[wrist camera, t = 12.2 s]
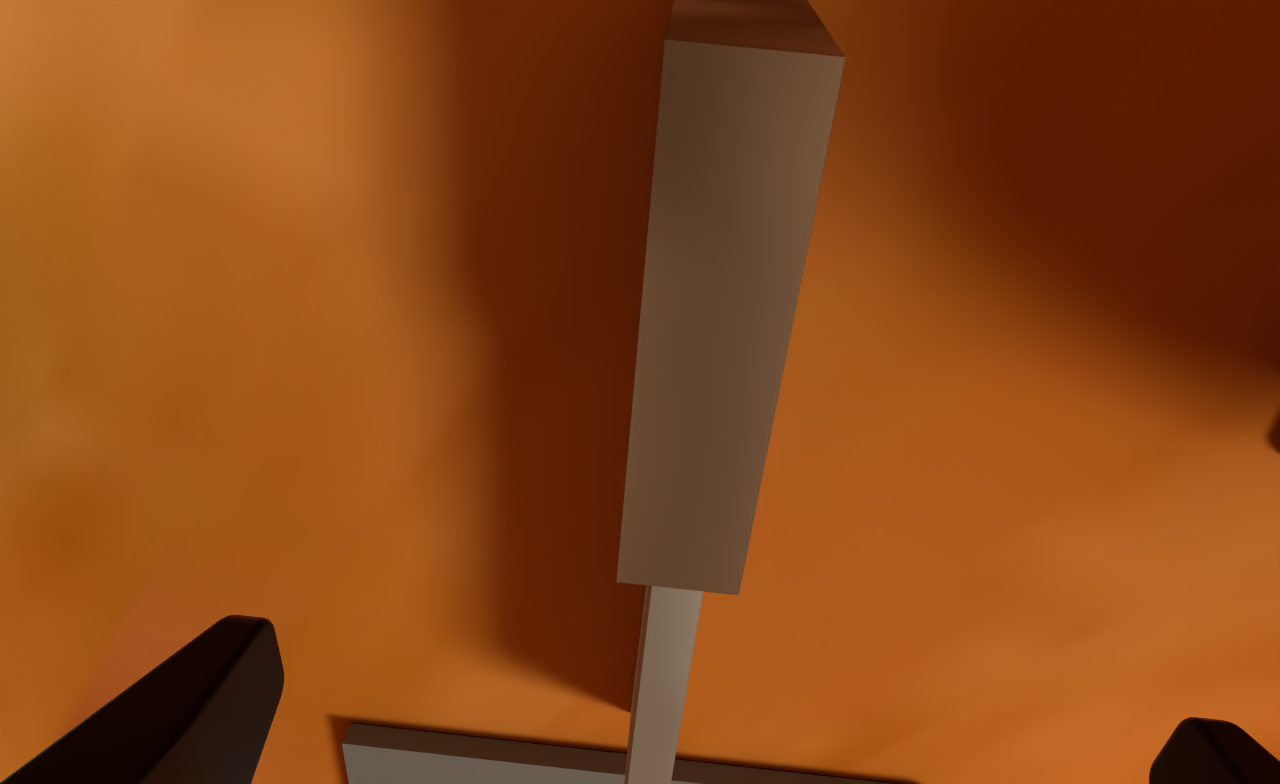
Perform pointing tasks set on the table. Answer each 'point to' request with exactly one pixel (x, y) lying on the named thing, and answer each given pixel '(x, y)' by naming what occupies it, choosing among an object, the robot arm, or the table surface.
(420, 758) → the grey square plate
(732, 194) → the brown upright panel
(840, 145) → the table surface
